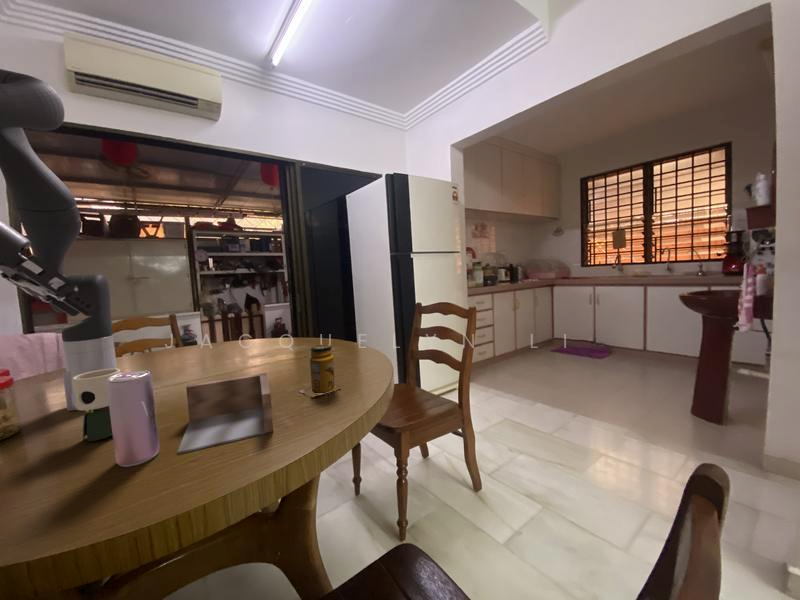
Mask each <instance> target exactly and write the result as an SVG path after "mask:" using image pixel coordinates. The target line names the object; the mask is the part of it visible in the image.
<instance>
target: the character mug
mask: <svg viewBox="0 0 800 600" xmlns="http://www.w3.org/2000/svg"><path fill="white" fill-rule="evenodd" d="M118 374H122V372H121V369H120V368H117V369H103V370H97V371H92V372H87V373H83V374H80V375H77V376H75V377H73V378H72V384H73V391H74V393H75V396H76V402H75V407H76V408H77V410H76V411H85V412H84V413H83V420H82V421H83V424H82V440H83V441H85V437H86V436H87V437H86V439H87V441H88V442H94V441H95V442H96V441H99V440H103V439H107V438H110V437H111V436H113V434H112V426H111V417H110V409H109V401H108V393H107V384H108V378H110V377H112V376H115V375H118Z"/></svg>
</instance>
